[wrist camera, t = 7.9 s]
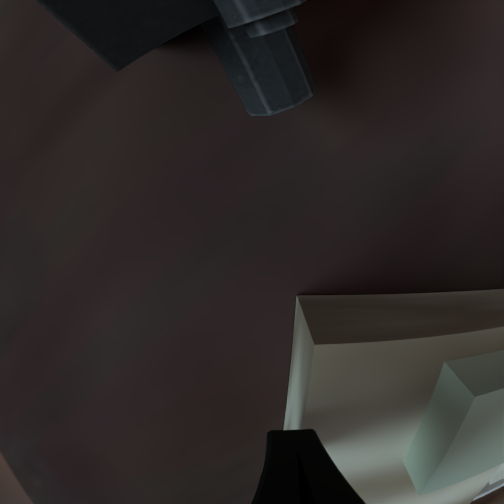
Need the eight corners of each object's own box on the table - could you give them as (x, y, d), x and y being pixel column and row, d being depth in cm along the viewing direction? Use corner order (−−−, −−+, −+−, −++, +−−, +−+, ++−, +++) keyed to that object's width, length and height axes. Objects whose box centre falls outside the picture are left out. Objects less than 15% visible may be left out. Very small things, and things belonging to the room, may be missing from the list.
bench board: (443, 483, 16) (459, 515, 12) (271, 514, 16) (274, 556, 12) (532, 286, 12) (576, 311, 8) (296, 295, 12) (314, 344, 8)
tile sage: (490, 433, 10) (509, 460, 8) (402, 460, 10) (418, 495, 8) (532, 342, 9) (561, 365, 7) (444, 361, 9) (474, 397, 7)
